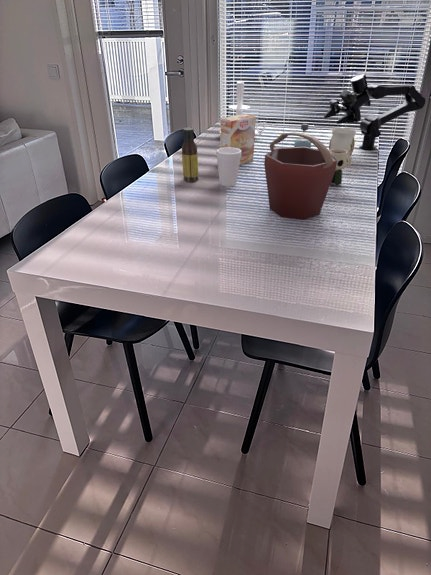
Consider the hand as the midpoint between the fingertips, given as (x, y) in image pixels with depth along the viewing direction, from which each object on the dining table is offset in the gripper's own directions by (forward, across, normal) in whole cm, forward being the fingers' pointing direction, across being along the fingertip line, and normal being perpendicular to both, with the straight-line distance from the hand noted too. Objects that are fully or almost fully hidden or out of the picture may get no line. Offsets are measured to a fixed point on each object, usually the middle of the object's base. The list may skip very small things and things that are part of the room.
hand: (330, 120), depth 201 cm
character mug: (+29, +38, 0) cm, 48 cm away
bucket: (+55, +52, -14) cm, 77 cm away
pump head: (+11, -6, +1) cm, 13 cm away
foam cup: (+64, +20, -16) cm, 68 cm away
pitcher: (+8, +13, +12) cm, 19 cm away
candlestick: (+28, -41, +6) cm, 50 cm away
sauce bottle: (+74, +9, -20) cm, 77 cm away
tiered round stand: (+15, -6, +10) cm, 19 cm away
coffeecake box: (+49, -4, -7) cm, 50 cm away
